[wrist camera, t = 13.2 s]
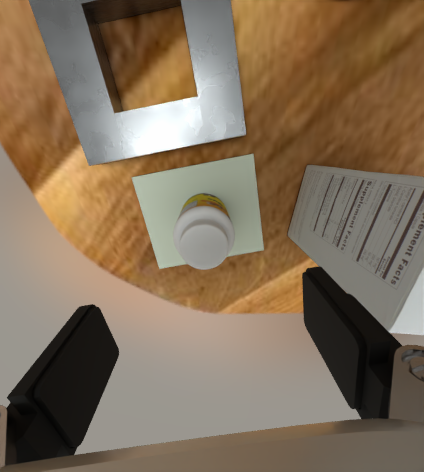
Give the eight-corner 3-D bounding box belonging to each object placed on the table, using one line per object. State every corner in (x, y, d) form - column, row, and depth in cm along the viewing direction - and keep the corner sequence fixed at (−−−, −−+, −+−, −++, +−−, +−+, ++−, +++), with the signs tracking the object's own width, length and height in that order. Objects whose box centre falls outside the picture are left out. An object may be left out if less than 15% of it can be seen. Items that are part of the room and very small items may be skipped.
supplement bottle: (235, 219, 27) (252, 255, 18) (199, 244, 28) (197, 290, 19) (209, 182, 26) (212, 199, 16) (171, 209, 27) (153, 241, 17)
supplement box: (284, 236, 29) (380, 336, 13) (304, 162, 26) (462, 179, 10) (353, 245, 30) (521, 348, 14) (381, 174, 27) (638, 206, 11)
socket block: (216, -65, 19) (218, -103, 16) (241, 136, 25) (246, 134, 22) (37, -24, 20) (9, -54, 17) (101, 164, 25) (89, 165, 22)
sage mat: (252, 153, 25) (253, 153, 25) (262, 248, 30) (263, 250, 29) (132, 177, 26) (131, 177, 25) (160, 267, 30) (159, 268, 30)
